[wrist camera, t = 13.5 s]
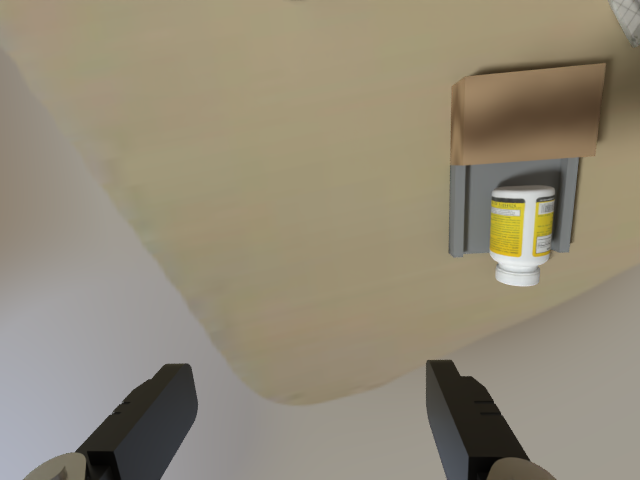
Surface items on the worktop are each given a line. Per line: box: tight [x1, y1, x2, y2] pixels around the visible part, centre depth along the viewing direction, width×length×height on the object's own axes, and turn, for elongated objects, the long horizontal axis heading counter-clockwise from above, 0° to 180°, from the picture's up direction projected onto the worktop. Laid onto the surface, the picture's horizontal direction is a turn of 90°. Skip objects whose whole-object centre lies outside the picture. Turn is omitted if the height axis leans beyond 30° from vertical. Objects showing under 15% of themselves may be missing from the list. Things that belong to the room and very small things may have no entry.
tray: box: [449, 157, 579, 257], centre depth 35 cm, size 10×12×2 cm
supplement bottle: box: [490, 185, 555, 286], centre depth 33 cm, size 5×5×10 cm
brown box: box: [450, 63, 606, 166], centre depth 32 cm, size 8×12×4 cm, turn 94°
